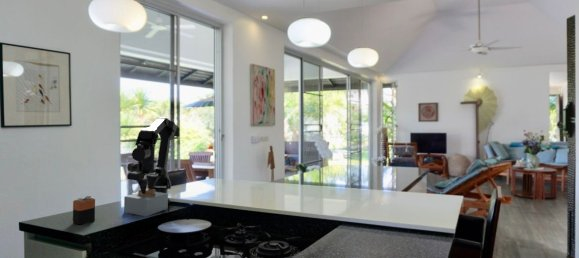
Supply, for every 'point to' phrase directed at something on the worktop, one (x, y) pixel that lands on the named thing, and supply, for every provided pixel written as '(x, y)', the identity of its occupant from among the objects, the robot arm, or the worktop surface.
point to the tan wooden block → (147, 192)
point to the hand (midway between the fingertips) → (146, 192)
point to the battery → (84, 210)
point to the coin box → (145, 204)
